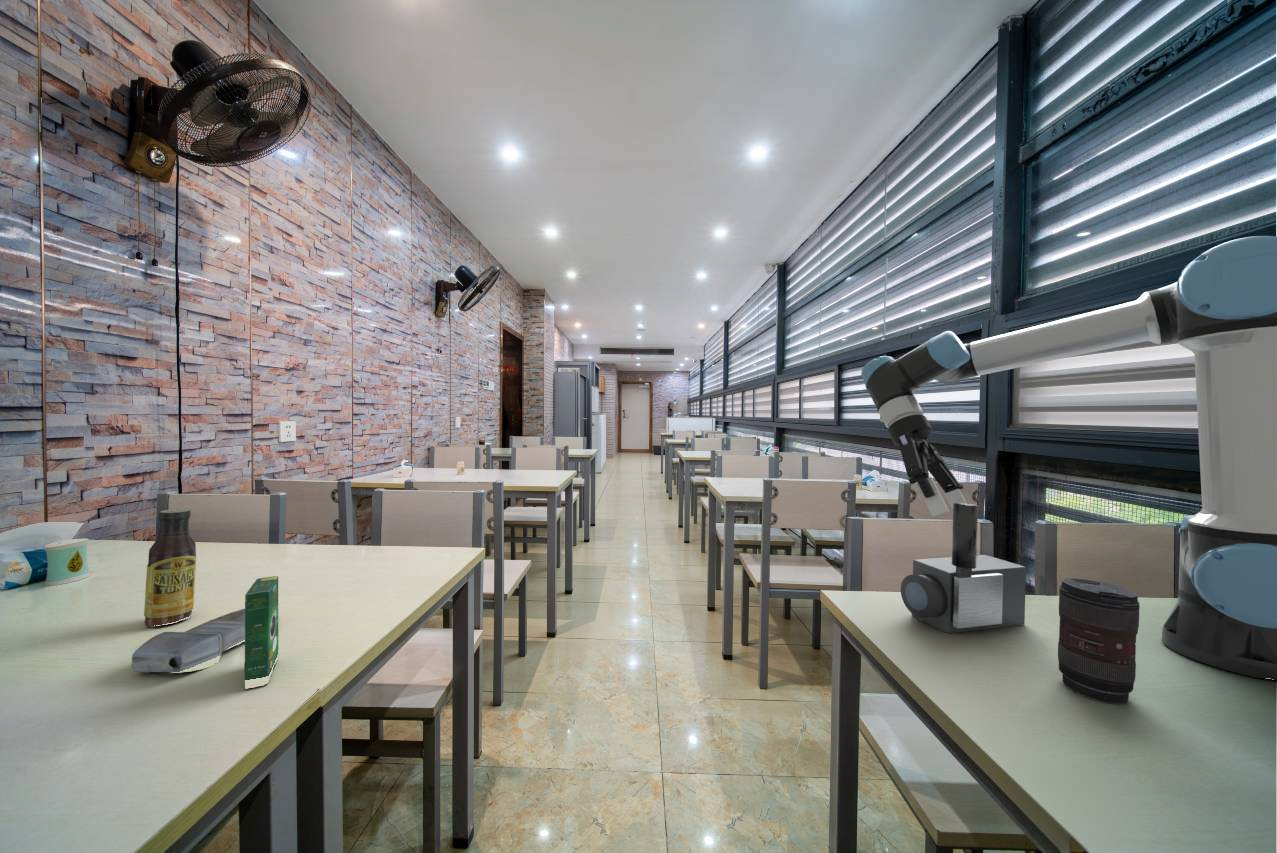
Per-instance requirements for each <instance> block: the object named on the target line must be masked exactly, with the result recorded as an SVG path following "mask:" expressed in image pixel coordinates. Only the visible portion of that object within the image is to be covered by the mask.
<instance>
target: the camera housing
mask: <svg viewBox="0 0 1277 853" xmlns="http://www.w3.org/2000/svg"><path fill="white" fill-rule="evenodd" d="M990 573H1000V574H1003V602H1002V624H994V625H985V626H977V627H968V628H959V629H958V628H956V627H954V626H953V605H954V576H956V566H954V565H952V556H947V557H932V558H921V559H920V558H918V559H913V560H912V574H910V575H907V576H905V577H904V578H903V579H902V581H901V583H900V595H901V599H902V602H903V603H904V606H905V608H906V609H907V610H908V611H909V612H910V613H911V616H913V617H914V618H917V619H919V620H920V621H923V622H925V623H926V624H929V625H931V626H933V627H934V628H937V629H938V630H940V629H941V630H940V631H942V630H943V632H944V631H945V632H944V633H946V632H947V634H954V633H965V632H970V631H979V630H980V631H981V630H991V629H997V628H998V629H999V628H1006V627H1017V626H1024V625H1025V620H1026V618H1025V617H1026V615H1025V613H1026V590H1027V588H1026V586H1027V584H1026V582H1027V581H1026V580H1027V579H1026V578H1027V566H1023V565H1021V564H1017V563H1015V562H1014V563H1013V562H1011V561H1007V560H1004V559H1000V558H997V557H994V556H990V555H986V554H977V559H976V568H975V569H972V575H978V574H990Z"/></svg>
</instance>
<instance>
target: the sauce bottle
mask: <svg viewBox="0 0 1277 853" xmlns="http://www.w3.org/2000/svg"><path fill="white" fill-rule="evenodd" d="M190 518H191V509H189V508H172V509H164V510H160V511H159V512H158V521H159V531H158V537H157V538H156V540H155V542H154V543H153V544H152V546H151V547H150V548H149V550H148V561H147V566H146V578H145V590H144V594H145V595H144V610H143V611H144V612H143V616H144V625H145V626H146V625H147V626H146V627H148V626H154V625H155V626H156V625H162V624H167V623H172V622H176V621H179V620H181V619H184V618H186V617H189V616H190V615H191V614H193V610H194V607H195V606H194V605H195V604H194V602H195V589H196V588H195V587H196V572H197V571H196V568H197V549H196V548H197V546H196V541H195V540H194V539H193V538H192V537H191V535H190V528H189V524H190ZM191 616H192V615H191ZM191 616H190V617H191Z"/></svg>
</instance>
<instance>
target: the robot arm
mask: <svg viewBox="0 0 1277 853" xmlns="http://www.w3.org/2000/svg"><path fill="white" fill-rule="evenodd" d="M1144 342H1150V343H1152V344H1155V345H1162V344H1167V343H1171V342H1172V343H1173V342H1178V345H1179V346H1181V347H1183V348H1185V349H1187V350H1189V351H1191V352H1192V354H1194V356H1193V357H1194V371H1195V372H1194V373H1195V376H1194V377H1195V391H1196V392H1195V393H1196V394H1195V395H1196V409H1197V410H1196V411H1197V412H1196V414H1197V415H1196V416H1197V429H1198V430H1197V431H1198V432H1197V433H1198V452H1199V453H1198V454H1199V470H1200V486H1201V487H1200V488H1201V489H1200V491H1201V507H1202V508H1201V510H1200V511H1198V512H1197V513H1196V514H1194V515H1193V514H1189V515H1185V516H1184V517H1183V518H1182V519H1181V522H1180V523H1181V524H1180V527H1179V529H1178V534H1179V535H1180V536H1179V569H1178V570H1179V573H1178V592H1177V593H1178V596H1177V598H1178V599H1177V602H1176V603H1175V605H1174V607H1173V608H1172V610H1171V611H1170V614H1169V615H1168V617H1167V619H1166V620H1165V622H1164V624H1163V626H1162V628H1161V642H1162V644H1164V645H1165V646H1166V647H1167V648H1168V649H1171V651H1173V652H1176V653H1178V654H1180V655H1182V656H1184V657H1187V658H1189V659H1191V660H1194V661H1197V662H1199V663H1202V664H1206V665H1208V666H1212V667H1214V668H1218V669H1221V670H1224V671H1227V672H1233V673H1236V674H1239V675H1244V676H1247V677H1248V676H1249V677H1252V678H1257V679H1261V678H1271V679H1274V680H1277V236H1275V235H1274V236H1273V235H1256V236H1255V235H1254V236H1247V237H1241V238H1237V239H1236V238H1235V239H1233V240H1228V241H1226V242H1223V243H1220V244H1218V245H1216V246H1214V247H1212V248H1209V249H1207V250H1206V251H1204V252H1203V253H1201V254H1200V255H1199V256H1197V257H1196V258H1194V259H1193V260H1191V262H1189V263H1188V264H1187V265H1186V266H1185V267H1184V269H1182V271H1181V273H1180V275H1179V276H1178V280H1177V281H1176V282H1174V283H1171V284H1169V285H1166V286H1163V287H1159V288H1157V289H1152V290H1148V291H1145V292H1143V293H1142V294H1141V295H1140V297H1138V298H1137V299H1136V300H1133V301H1128V302H1125V303H1122V304H1121V303H1120V304H1118V305H1114V306H1113V305H1112V306H1109V307H1105V308H1101V309H1098V310H1093V311H1090V312H1085V313H1082V314H1077V315H1073V316H1070V317H1066V318H1061V319H1058V320H1054V321H1051V322H1047V323H1043V324H1038V325H1035V326H1031V327H1027V328H1023V329H1019V330H1014V331H1011V332H1007V333H1004V334H1003V333H1002V334H999V335H995V336H991V337H987V338H983V339H979V340H975V341H971V342H969V343H963V341H961V339H960V338H959V337H958V336H957V335H956V333H955V332H953V331H951V330H946V331H944V332H942V333H940V334H938V335H935V336H932V337H931V338H929V340H927V341H926V342H924V343H921V344H920V345H919V346H917V347H915V348H914V349H912V350H910V351H908V352H907V353H905V354H904V355H902V356H900V357H898V358H896V359H894V357H892V356H889V355H883V356H879V357H878V358H874V359H872V360H870V361H868V362H867V363H866V364H864V366H863V367H862V369H861V371H860V372H861V374H860V375H861V377H862V381H863V382H864V386H865V389H866V391H867V392H868V394H869V395H870V397H871V399H872V402H873V404H874V406H875V407H876V409H877V412H878V414H879V415H880V418H879V422H881V423H883V424H884V426H885V428H886V429H887V433H888V435H889V437H890V439H891V440H892V443H893V445H894V446H897V447H898V448H899V450H900V454H901V458H902V460H903V465H904V468H905V472H906V476H907V477H908V479H907V480H908V482H909V483H910V485H914V484H916V487H917V488H918V490H919V492H920V495H921V496H922V498H923V500H924V502H925V505H926V506H927V509H928V511H929V514H930V515H931V517H932V518H937V517H940V516H942V515H945V514H948V513H950V510H949V508H948V506H947V504H946V502H945V499H946V501H947V502H948V504H949V507H951V510H952V511H953V503H968V502H967V500H966V499H965V497H964V495H963V493H962V491H961V490H963V489H964V488H965V487H964V485H963V484H962V483H959V481H958V479H957V478H956V477H955V476H954V474H953V472H952V471H951V470H950V468H949V467H948V465H947V464H946V462H945V460H943V458H942V456H941V454H940V453H939V452H938V450H937V447H936V446H935V445H932V444H931V443H928V442H927V439H928V437H930V436H931V435H932V433H933V427H932V426H931V424H930V422H929V421H928V419H927V417H926V415H924V414H925V413H924V410H923V409H922V407H921V405H920V403H919V402H918V400H917V397H916V396H915V395H914V393H913V391H915V390H916V389H920V388H922V387H923V386H925V385H927V384H929V383H931V382H933V381H937V382H939V383H942V384H948V385H949V384H957V383H960V382H961V381H964V380H965V379H970V378H975V377H979V376H984V375H988V374H993V373H997V372H998V373H999V372H1003V371H1007V370H1012V369H1017V368H1021V367H1022V368H1023V367H1027V366H1032V365H1036V364H1042V363H1046V362H1051V361H1056V360H1062V359H1065V358H1070V357H1074V356H1075V357H1076V356H1081V355H1085V354H1091V353H1096V352H1100V351H1104V350H1109V349H1114V348H1120V347H1124V346H1128V345H1133V344H1140V343H1144ZM929 473H930V474H929ZM930 475H931V476H932V477H930ZM934 480H935V481H936V482H937V483H938V485H939V486H940V487H941V489H942V490H943V491H944V492H943V493H944V496H945V499H944V498H943V497H942V494H941V492H940V490H939V488H938V487H937V484H936V482H935V481H934Z"/></svg>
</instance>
